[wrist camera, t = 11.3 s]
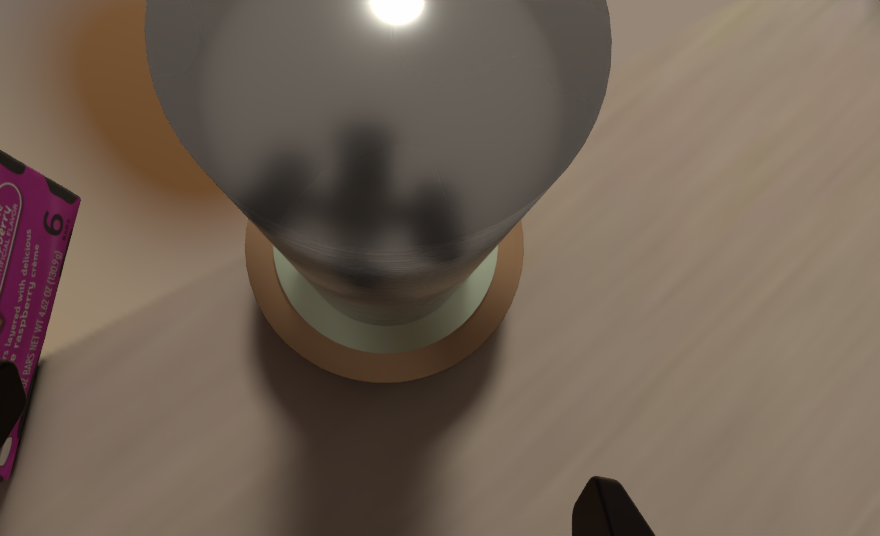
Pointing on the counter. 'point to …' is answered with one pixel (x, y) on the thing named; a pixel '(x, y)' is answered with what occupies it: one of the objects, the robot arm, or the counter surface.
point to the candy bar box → (29, 270)
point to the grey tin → (381, 128)
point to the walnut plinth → (383, 347)
